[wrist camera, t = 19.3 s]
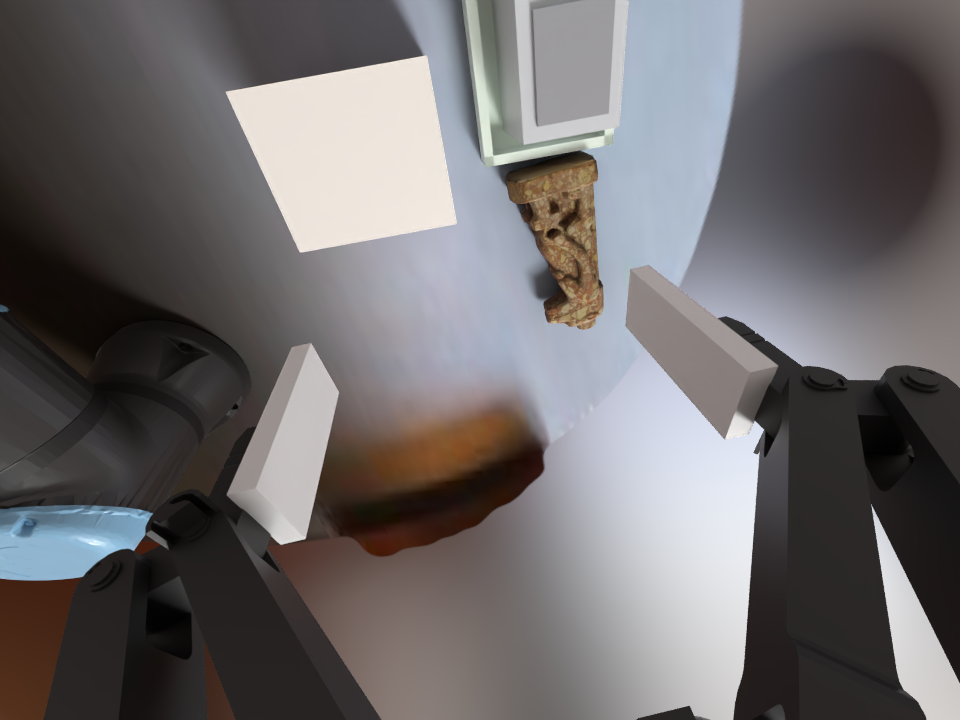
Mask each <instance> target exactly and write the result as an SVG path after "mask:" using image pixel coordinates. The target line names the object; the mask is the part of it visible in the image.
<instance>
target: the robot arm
mask: <svg viewBox="0 0 960 720" xmlns="http://www.w3.org/2000/svg"><path fill="white" fill-rule="evenodd" d="M8 311H10V310H9V309H8V308H7V307H5V306H3V305H0V579H1V578H2V579H13V580H59V579H69V578H77V577H82V579H81V580H80V581H79V583H78V584H77V586H76V588H75V591H74V593H73V596H72V600H71V605H70V609H69V613H68V618H67V622H66V627H65V631H64V635H63V639H62V643H61V648H60V652H59V656H58V661H57V665H56V669H55V674H54V678H53V682H52V686H51V691H50V695H49V699H48V704H47V708H46V712H45V716H44V720H207V701H206V679H205V656H204V640H205V643H206V645H207V648H208V650H209V653H210V655H211V658H212V660H213V663H214V666H215V668H216V671H217V673H218V676H219V678H220V681H221V683H222V686H223V688H224V691H225V693H226V696H227V699H228V701H229V703H230V706H231V709H232V711H233V714H234V716H235V719H236V720H381V719H380V717H379V715H378V714H377V712H376V711H375V709H374V708H373V706H372V705H371V703H370V702H369V700H368V699H367V697H366V696H365V694H364V693H363V691H362V689H361V688H360V686H359V685H358V683H357V682H356V680H355V679H354V677H353V676H352V674H351V673H350V671H349V670H348V668H347V667H346V665H345V664H344V662H343V661H342V659H341V658H340V656H339V655H338V653H337V651H336V650H335V648H334V647H333V645H332V644H331V642H330V641H329V639H328V638H327V636H326V635H325V633H324V632H323V630H322V629H321V627H320V625H319V624H318V623H317V621H316V619H315V618H314V616H313V615H312V614H311V612H310V610H309V609H308V607H307V606H306V604H305V603H304V601H303V600H302V598H301V597H300V595H299V593H298V592H297V590H296V589H295V588H294V586H293V584H292V583H291V581H290V580H289V578H288V577H287V575H286V574H285V572H284V571H283V569H282V568H281V566H280V565H279V563H278V562H277V560H276V558H275V557H274V555H273V554H272V553H271V552H270V551H269V550H268V549H267V546H268V542H269V539H270V536H272V537H273V538H274V539H275V540H276V541H277V542H278V543H279V544H280V545H282V544H286V543H290V542H294V541H298V540H303V539H306V534H307V530H308V526H309V521H310V517H311V513H312V508H313V504H314V500H315V495H316V491H317V486H318V482H319V478H320V473H321V469H322V465H323V460H324V456H325V452H326V447H327V443H328V438H329V434H330V430H331V425H332V421H333V417H334V412H335V408H336V404H337V399H338V395H339V391H338V390H337V388H336V386H335V384H334V383H333V381H332V379H331V377H330V376H329V374H328V372H327V370H326V369H325V367H324V365H323V363H322V362H321V360H320V358H319V356H318V354H317V353H316V351H315V349H314V347H313V346H312V344H311V343H308V344H304V345H300V346H295V347H292V348H291V351H290V353H289V355H288V357H287V360H286V362H285V364H284V366H283V369H282V371H281V373H280V376H279V378H278V380H277V382H276V385H275V387H274V389H273V391H272V394H271V396H270V398H269V400H268V403H267V405H266V407H265V409H264V412H263V414H262V416H261V418H260V421H259V423H258V425H257V426H256V427H252V428H248V429H247V430H246V431H245V432H244V433H243V434H242V435H241V436H240V437H239V439H238V440H237V441H236V442H235V444H234V446H233V448H232V450H231V453H230V455H229V456H230V457H229V458H228V459H227V461H226V463H225V465H224V469H222V471H221V473H220V475H219V477H218V479H217V481H216V484H215V486H214V488H213V490H212V492H211V494H210V496H209V498H207V497H206V496H205V495H204V494H203V493H201V492H200V491H199V490H194V489H189V490H186V491H183V492H180V493H178V494H176V495H174V496H173V497H171V498H169V497H170V495H171V493H172V492H173V490H174V488H175V486H176V485H177V483H178V481H179V480H180V478H181V476H182V475H183V473H184V471H185V470H186V468H187V466H188V465H189V463H190V461H191V459H192V458H193V456H194V454H195V453H196V451H197V449H198V448H199V446H200V445H201V443H202V441H203V440H204V439H205V438H206V437H207V436H209V435H210V434H211V433H212V432H214V431H215V430H216V429H217V428H219V427H220V426H221V425H223V424H224V423H225V422H226V421H228V420H229V419H230V418H231V417H233V416H234V415H235V414H236V413H237V412H238V411H239V410H240V408H241V407H242V405H243V403H244V402H245V400H246V398H247V396H248V394H249V392H250V387H251V380H250V375H249V372H248V370H247V368H246V366H245V364H244V362H243V361H242V360H241V358H240V357H239V356H238V355H237V354H236V353H235V352H234V351H233V350H232V349H231V348H230V347H229V346H227V345H226V344H225V343H223V342H222V341H221V340H219V339H217V338H216V337H214V336H212V335H210V334H208V333H206V332H204V331H202V330H200V329H197V328H194V327H192V326H188V325H185V324H181V323H176V322H171V321H162V320H149V321H140V322H136V323H132V324H129V325H127V326H125V327H123V328H121V329H120V330H118V331H117V332H116V333H115V334H113V335H112V336H111V337H110V338H109V339H107V340H106V341H105V342H104V343H103V344H102V346H101V347H100V348H99V350H98V352H97V354H96V358H95V360H94V362H93V364H92V366H91V369H90V371H89V373H88V375H87V378H86V379H85V378H84V377H83V376H81V375H80V374H79V373H78V372H77V371H76V370H74V369H73V368H72V367H71V366H70V365H69V364H67V363H66V362H65V361H64V360H63V359H62V358H61V357H59V356H58V355H57V354H56V353H55V352H54V351H52V350H51V349H50V348H49V347H48V346H47V345H45V344H44V343H43V342H42V341H41V340H40V339H39V338H37V337H36V336H35V335H34V334H33V333H32V332H30V331H29V330H28V329H27V328H26V327H25V326H23V325H22V324H21V323H20V322H19V321H18V320H16V319H15V318H14V317H13V316H12V315H11V314H10V313H8ZM626 327H627V328H628V329H629V331H630V332H631V333H632V334H633V335H634V336H635V337H636V339H637V340H638V341H639V342H640V343H641V344H642V345H643V347H644V348H645V349H646V350H647V351H648V352H649V353H650V355H652V357H653V358H654V359H655V360H656V361H657V363H658V364H659V365H660V366H661V367H662V368H663V369H664V371H665V372H666V373H667V374H668V375H669V376H670V377H671V378H672V380H673V381H674V382H675V383H676V384H677V385H678V387H679V388H680V389H681V390H682V391H683V392H684V393H685V395H686V396H687V397H688V398H689V399H690V400H691V402H692V403H693V404H694V405H695V406H696V407H697V408H698V410H699V411H700V412H701V413H702V414H703V415H704V416H705V418H707V420H708V421H709V422H710V423H711V424H712V426H713V427H714V428H715V429H716V430H717V431H718V433H719V434H720V435H721V436H722V437H723V438H724V439H725V440H726V439H730V438H734V437H738V436H743V435H747V434H749V433H750V430H751V428H752V426H753V423H754V421H756V422H757V423H758V424H759V425H760V426H761V427H762V428H763V429H764V431H763V434H762V436H761V438H760V440H759V442H758V444H757V446H756V448H755V451H754V453H755V454H758V453H759V451H760V455H759V470H758V483H757V496H756V510H755V523H754V537H753V551H752V565H751V578H750V592H749V606H748V619H747V633H746V646H745V660H744V670H743V675H742V679H741V682H740V685H739V689H738V692H737V697H736V702H735V709H734V719H733V720H926V716H925V714H924V712H923V711H922V709H921V707H920V705H919V703H918V702H917V701H916V700H915V699H914V698H913V697H912V696H910V695H909V694H908V693H907V692H906V691H904V690H903V688H902V686H901V684H900V682H899V679H898V675H897V670H896V664H895V657H894V651H893V644H892V637H891V631H890V625H889V618H888V611H887V605H886V598H885V592H884V585H883V580H882V572H881V566H880V559H879V553H878V547H877V539H876V533H875V526H874V520H873V513H872V507H871V504H872V506H873V508H874V510H875V512H876V514H877V516H878V518H879V520H880V522H881V525H882V527H883V528H884V531H885V533H886V535H887V536H888V539H889V541H890V543H891V545H892V547H893V549H894V551H895V553H896V555H897V557H898V559H899V561H900V563H901V565H902V567H903V569H904V571H905V573H906V575H907V577H908V579H909V581H910V583H911V585H912V587H913V589H914V591H915V593H916V595H917V597H918V599H919V602H920V604H921V606H922V608H923V610H924V612H925V614H926V616H927V617H928V620H929V622H930V624H931V626H932V628H933V630H934V632H935V634H936V636H937V638H938V640H939V642H940V644H941V646H942V648H943V650H944V652H945V654H946V656H947V658H948V660H949V662H950V664H951V666H952V668H953V670H954V672H955V674H956V676H957V678H958V680H959V682H960V388H959V387H958V386H957V385H956V384H955V383H954V382H952V381H951V380H950V379H948V378H947V377H945V376H943V375H941V374H939V373H937V372H935V371H932V370H929V369H925V368H921V367H914V366H906V365H905V366H894V367H891V368H888V369H887V370H886V371H885V373H884V374H883V376H882V377H881V379H880V380H876V381H875V380H847V379H846V378H845V377H844V376H842V375H840V374H838V373H836V372H834V371H832V370H829V369H825V368H821V367H812V366H805V367H802V366H801V365H800V364H798V363H797V362H796V361H794V360H793V359H791V358H790V357H789V356H787V355H786V354H785V353H783V352H782V351H780V350H779V349H778V348H776V347H775V346H773V345H772V344H771V343H769V342H768V341H765V339H764V338H763V337H761V336H760V335H759V334H755V331H753V330H751V329H750V328H749V327H747V326H746V325H745V324H744V323H742V322H739V321H737V320H734V319H732V318H729V317H721V318H716V317H715V316H714V315H712V314H711V313H710V312H708V311H707V310H706V309H705V308H703V307H702V306H701V305H699V304H698V303H697V302H696V301H694V300H693V299H692V298H690V297H689V296H688V295H687V294H685V293H684V292H683V291H681V290H680V289H679V288H678V287H676V286H675V285H674V284H673V283H671V282H670V281H669V280H667V279H666V278H665V277H664V276H662V275H661V274H660V273H658V272H657V271H656V270H655V269H653V268H652V267H651V266H649V265H647V266H643V267H639V268H634V269H630V280H629V292H628V303H627V314H626ZM168 498H169V499H168ZM145 534H146V535H147V536H149V537H150V538H152V539H153V540H155V541H156V542H158V543H159V544H161V545H160V546H158V547H156V548H154V549H152V550H150V551H148V552H146V553H144V554H142V555H140V554H138V553H136V552H135V551H134V550H135V548H136V547H137V545H138V544H139V542H140V541H141V540H142V538H143V537H144V535H145ZM637 720H709V719H706V718H702V717H697V716H694V715H693V712H692V710H691V708H690V706H687V707H683V708H679V709H675V710H671V711H667V712H663V713H658V714H654V715H650V716H646V717H642V718H638V719H637Z"/></svg>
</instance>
